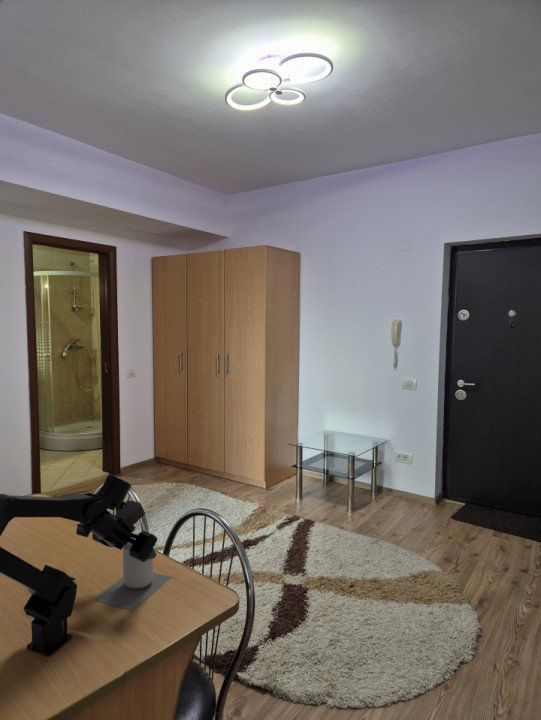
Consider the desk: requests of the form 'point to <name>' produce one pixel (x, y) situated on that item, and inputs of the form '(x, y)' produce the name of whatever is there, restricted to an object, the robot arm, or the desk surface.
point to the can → (136, 570)
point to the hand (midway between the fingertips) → (142, 551)
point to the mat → (131, 593)
